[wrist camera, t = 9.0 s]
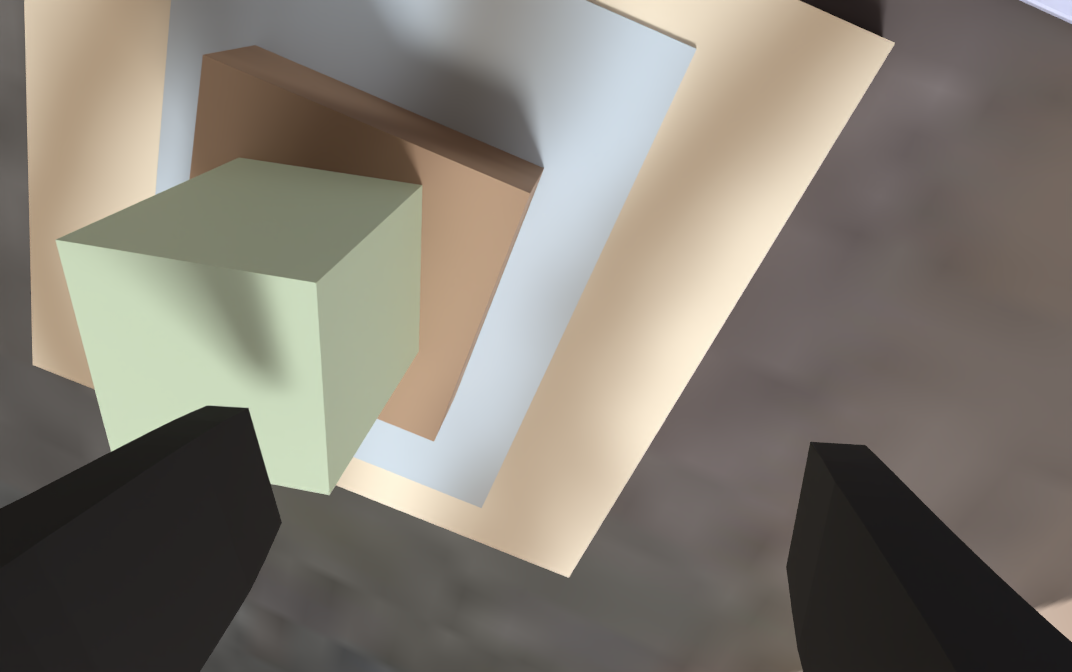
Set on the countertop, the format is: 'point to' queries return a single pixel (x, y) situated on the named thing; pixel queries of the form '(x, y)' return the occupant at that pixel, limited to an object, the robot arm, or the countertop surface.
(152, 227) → the green block
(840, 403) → the countertop surface
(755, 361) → the countertop surface
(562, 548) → the build board
